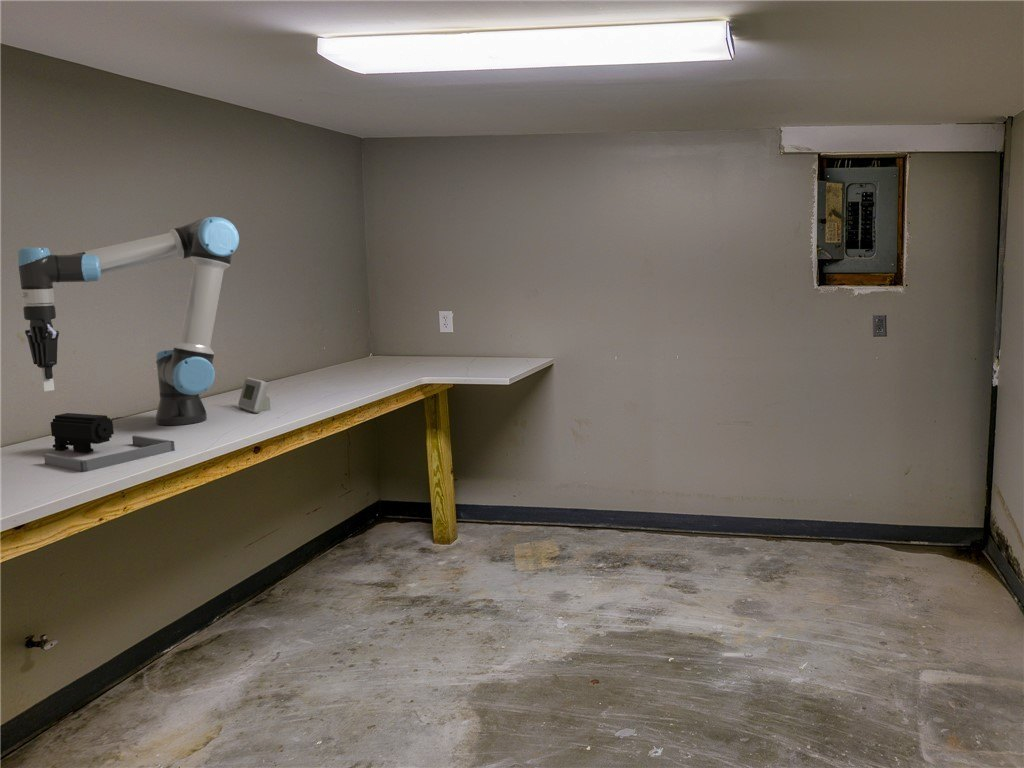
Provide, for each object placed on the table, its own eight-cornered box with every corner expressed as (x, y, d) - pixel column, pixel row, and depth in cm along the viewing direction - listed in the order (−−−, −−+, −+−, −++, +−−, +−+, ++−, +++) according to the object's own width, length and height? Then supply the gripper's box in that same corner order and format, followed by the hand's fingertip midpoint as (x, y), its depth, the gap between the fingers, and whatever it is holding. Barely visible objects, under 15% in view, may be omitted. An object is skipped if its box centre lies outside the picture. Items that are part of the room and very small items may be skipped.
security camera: (67, 446, 225) (64, 411, 223) (117, 450, 218) (114, 414, 216) (45, 452, 218) (41, 416, 217) (96, 456, 211) (92, 419, 210)
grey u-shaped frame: (136, 443, 226) (135, 435, 225) (174, 450, 217) (174, 441, 216) (45, 463, 205) (43, 454, 204) (83, 471, 196) (82, 461, 195)
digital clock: (237, 408, 280) (235, 377, 279) (264, 405, 284) (262, 375, 283) (245, 415, 266) (243, 383, 264) (273, 412, 270) (271, 381, 268)
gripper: (12, 305, 219) (21, 390, 223) (37, 306, 213) (47, 394, 216) (40, 304, 226) (48, 387, 229) (65, 304, 219) (74, 390, 222)
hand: (48, 390), depth 223 cm, fingers closed
